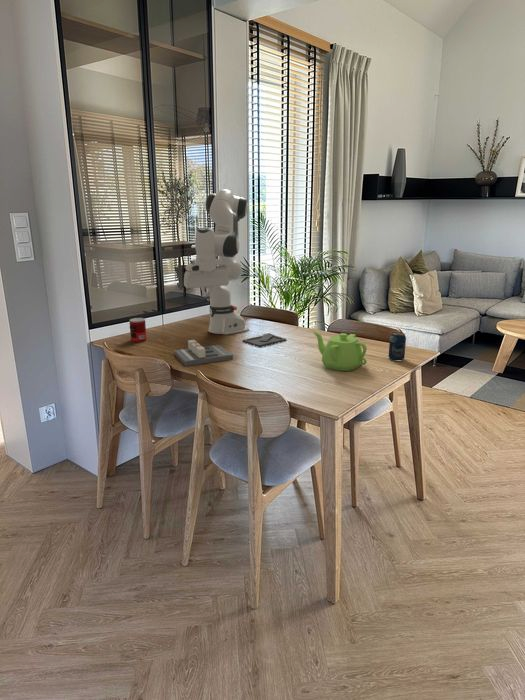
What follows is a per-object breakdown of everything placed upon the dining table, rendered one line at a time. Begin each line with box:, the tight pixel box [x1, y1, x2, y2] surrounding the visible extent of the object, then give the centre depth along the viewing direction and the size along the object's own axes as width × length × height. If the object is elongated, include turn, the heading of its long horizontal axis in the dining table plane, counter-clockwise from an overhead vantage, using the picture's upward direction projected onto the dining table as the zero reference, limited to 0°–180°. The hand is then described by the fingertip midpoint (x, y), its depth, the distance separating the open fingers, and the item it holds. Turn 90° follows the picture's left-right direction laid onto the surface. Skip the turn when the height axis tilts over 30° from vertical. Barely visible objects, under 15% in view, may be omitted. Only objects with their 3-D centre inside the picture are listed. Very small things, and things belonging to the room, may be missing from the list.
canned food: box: [129, 317, 147, 343], centre depth 249 cm, size 8×8×11 cm
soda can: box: [388, 331, 407, 361], centre depth 217 cm, size 7×7×12 cm
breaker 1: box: [187, 339, 198, 351], centre depth 226 cm, size 3×4×4 cm
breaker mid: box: [192, 342, 202, 354], centre depth 221 cm, size 3×4×4 cm
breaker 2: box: [196, 345, 205, 358], centre depth 216 cm, size 3×4×4 cm
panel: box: [173, 344, 234, 367], centre depth 223 cm, size 22×18×2 cm
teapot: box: [312, 331, 368, 372], centre depth 208 cm, size 19×20×14 cm
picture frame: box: [242, 332, 287, 348], centre depth 248 cm, size 13×2×18 cm
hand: (207, 296), depth 220 cm, fingers closed
